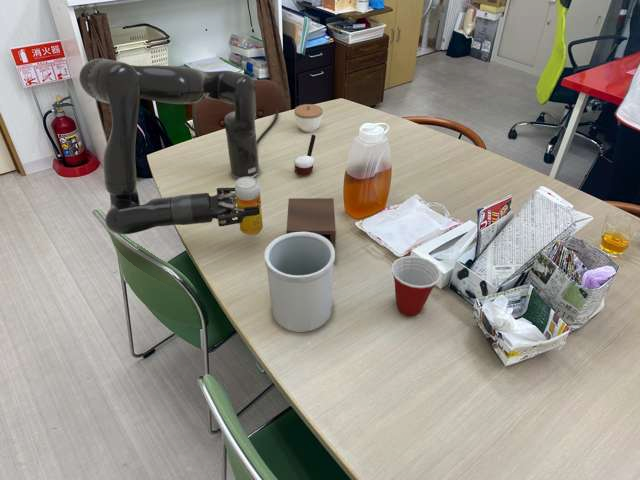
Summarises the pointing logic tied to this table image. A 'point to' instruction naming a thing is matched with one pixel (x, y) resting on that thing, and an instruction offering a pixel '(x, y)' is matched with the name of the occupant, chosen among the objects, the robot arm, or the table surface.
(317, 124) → the trinket box
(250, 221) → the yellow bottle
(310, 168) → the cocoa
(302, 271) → the utensil holder
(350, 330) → the table surface
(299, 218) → the brown wood-grain cube
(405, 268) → the plastic cup
